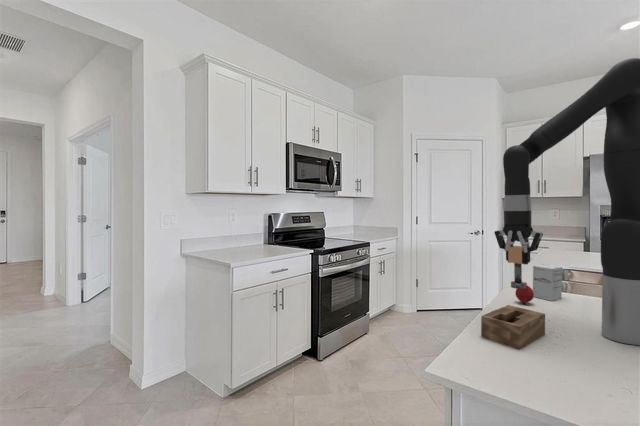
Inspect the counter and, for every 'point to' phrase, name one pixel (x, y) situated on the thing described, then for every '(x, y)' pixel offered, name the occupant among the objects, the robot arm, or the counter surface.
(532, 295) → the onion
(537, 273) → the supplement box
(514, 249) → the brown square-topped part
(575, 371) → the counter surface
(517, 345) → the keyhole block
